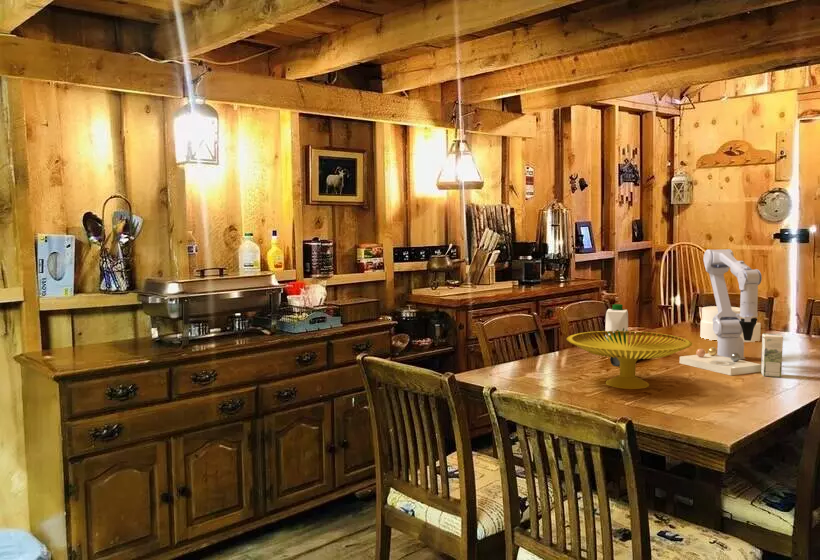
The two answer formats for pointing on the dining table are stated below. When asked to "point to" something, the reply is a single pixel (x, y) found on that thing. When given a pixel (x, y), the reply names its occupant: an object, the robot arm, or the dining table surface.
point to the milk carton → (616, 321)
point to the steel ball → (735, 357)
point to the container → (707, 324)
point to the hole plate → (720, 364)
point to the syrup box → (771, 355)
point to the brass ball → (712, 351)
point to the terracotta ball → (700, 352)
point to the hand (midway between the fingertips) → (748, 339)
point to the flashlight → (616, 361)
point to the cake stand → (628, 352)
